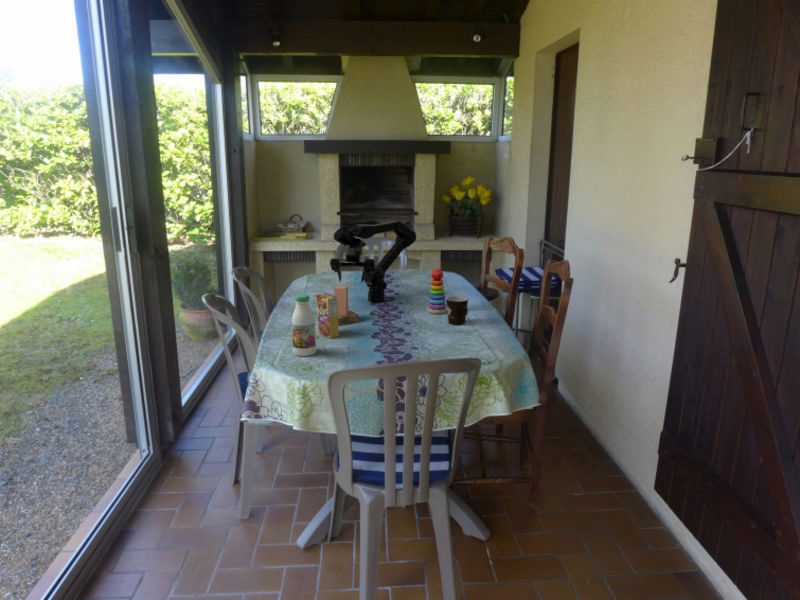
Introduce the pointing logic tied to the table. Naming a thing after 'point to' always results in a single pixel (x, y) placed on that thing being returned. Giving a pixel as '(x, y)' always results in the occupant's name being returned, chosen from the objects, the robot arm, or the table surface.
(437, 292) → the stacking toy
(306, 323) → the milk bottle
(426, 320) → the table surface
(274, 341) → the table surface
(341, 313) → the terracotta block
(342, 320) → the walnut plinth
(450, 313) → the coffee mug
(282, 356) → the table surface
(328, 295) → the candy box
